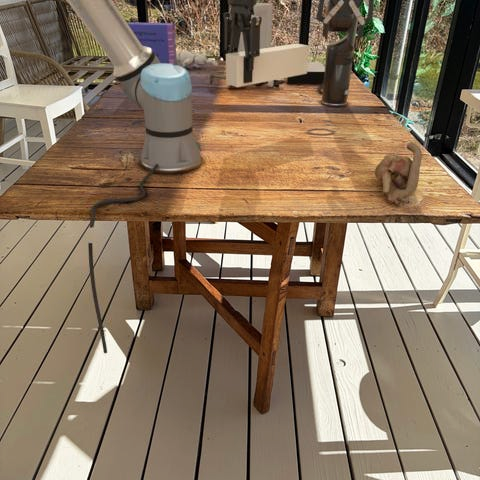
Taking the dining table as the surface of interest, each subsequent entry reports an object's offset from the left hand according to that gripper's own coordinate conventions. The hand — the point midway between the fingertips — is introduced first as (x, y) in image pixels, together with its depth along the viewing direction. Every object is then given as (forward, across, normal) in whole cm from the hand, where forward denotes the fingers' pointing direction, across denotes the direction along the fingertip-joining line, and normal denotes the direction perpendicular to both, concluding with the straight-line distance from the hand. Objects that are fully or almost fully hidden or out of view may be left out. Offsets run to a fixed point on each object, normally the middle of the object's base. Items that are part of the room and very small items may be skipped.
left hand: (241, 80), depth 136 cm
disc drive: (+16, +41, -69) cm, 81 cm away
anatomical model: (+16, -54, -2) cm, 56 cm away
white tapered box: (+16, +63, -58) cm, 87 cm away
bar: (+1, 0, -10) cm, 10 cm away
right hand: (-12, -19, -19) cm, 29 cm away
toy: (+16, +89, -40) cm, 99 cm away
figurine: (+16, +42, -37) cm, 58 cm away
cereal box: (+16, +61, -6) cm, 63 cm away
